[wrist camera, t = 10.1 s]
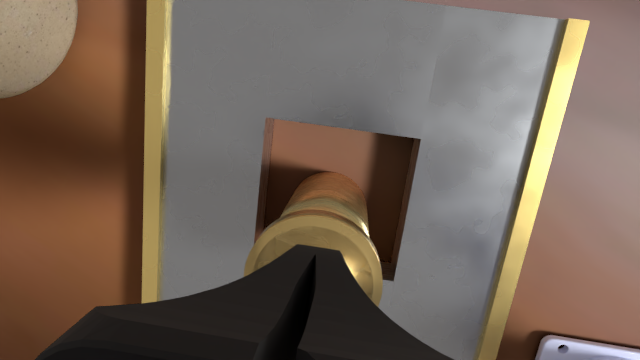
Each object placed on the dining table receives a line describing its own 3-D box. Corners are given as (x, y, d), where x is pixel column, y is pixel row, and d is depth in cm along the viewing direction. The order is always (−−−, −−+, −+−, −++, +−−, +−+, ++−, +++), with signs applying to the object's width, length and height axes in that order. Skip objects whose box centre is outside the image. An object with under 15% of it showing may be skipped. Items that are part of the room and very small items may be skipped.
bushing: (378, 172, 20) (393, 227, 12) (365, 255, 21) (371, 354, 14) (289, 161, 20) (248, 207, 13) (281, 243, 22) (239, 333, 14)
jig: (561, 28, 18) (590, 21, 16) (472, 368, 22) (484, 399, 20) (172, -18, 19) (147, -32, 17) (161, 314, 23) (141, 339, 21)
